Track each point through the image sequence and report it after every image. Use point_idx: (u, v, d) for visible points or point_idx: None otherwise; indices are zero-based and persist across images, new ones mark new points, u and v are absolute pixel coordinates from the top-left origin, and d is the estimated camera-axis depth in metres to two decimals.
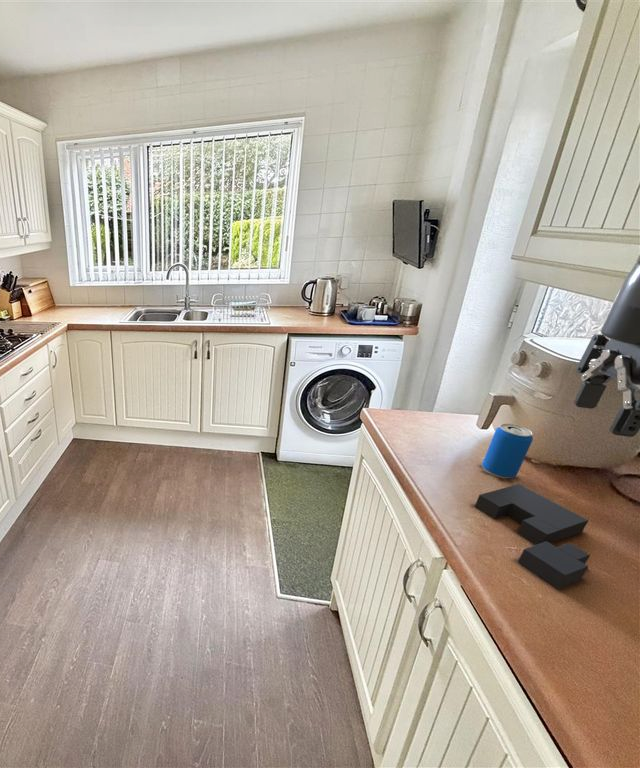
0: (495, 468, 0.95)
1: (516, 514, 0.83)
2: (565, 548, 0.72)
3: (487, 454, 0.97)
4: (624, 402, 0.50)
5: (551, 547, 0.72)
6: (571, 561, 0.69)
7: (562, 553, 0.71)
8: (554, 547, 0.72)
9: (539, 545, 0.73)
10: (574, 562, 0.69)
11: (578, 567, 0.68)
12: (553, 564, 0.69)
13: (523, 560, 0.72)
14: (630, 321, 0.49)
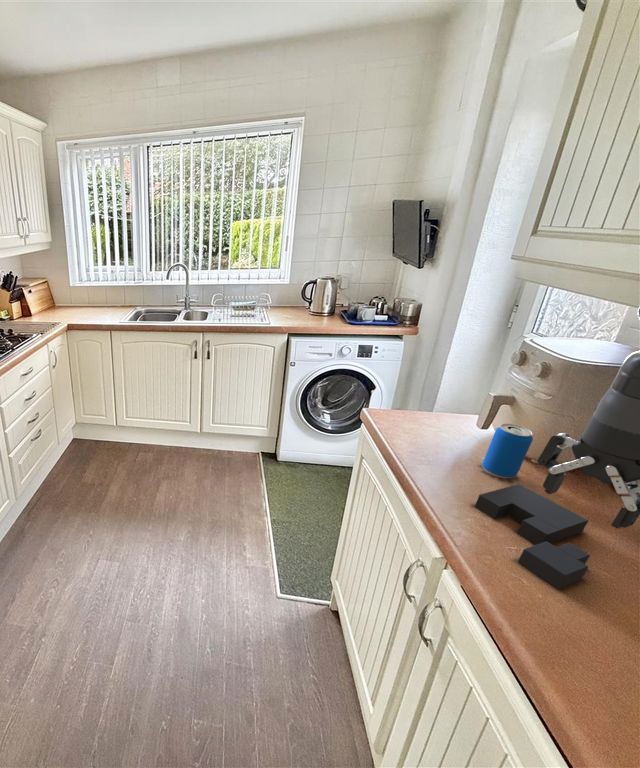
0: (495, 468, 0.95)
1: (516, 514, 0.83)
2: (565, 548, 0.72)
3: (487, 454, 0.97)
4: (627, 505, 0.60)
5: (551, 547, 0.72)
6: (571, 561, 0.69)
7: (562, 553, 0.71)
8: (554, 547, 0.72)
9: (539, 545, 0.73)
10: (574, 562, 0.69)
11: (578, 567, 0.68)
12: (553, 564, 0.69)
13: (523, 560, 0.72)
14: (632, 444, 0.57)
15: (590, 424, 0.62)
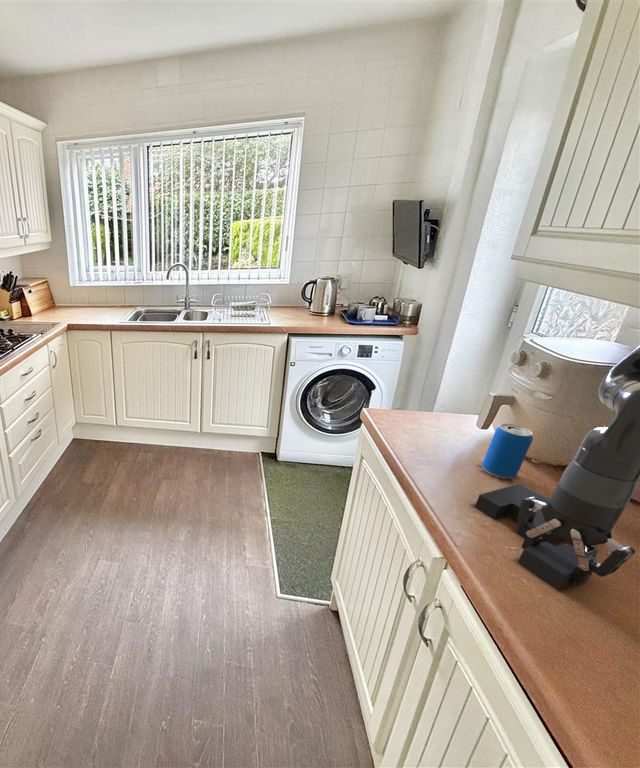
0: (495, 468, 0.95)
1: (516, 514, 0.83)
2: (565, 548, 0.72)
3: (487, 454, 0.97)
4: (581, 565, 0.66)
5: (551, 547, 0.72)
6: (571, 561, 0.69)
7: (562, 553, 0.71)
8: (554, 547, 0.72)
9: (539, 545, 0.73)
10: (574, 562, 0.69)
11: None
12: (553, 564, 0.69)
13: (523, 560, 0.72)
14: (592, 513, 0.63)
15: (556, 490, 0.67)
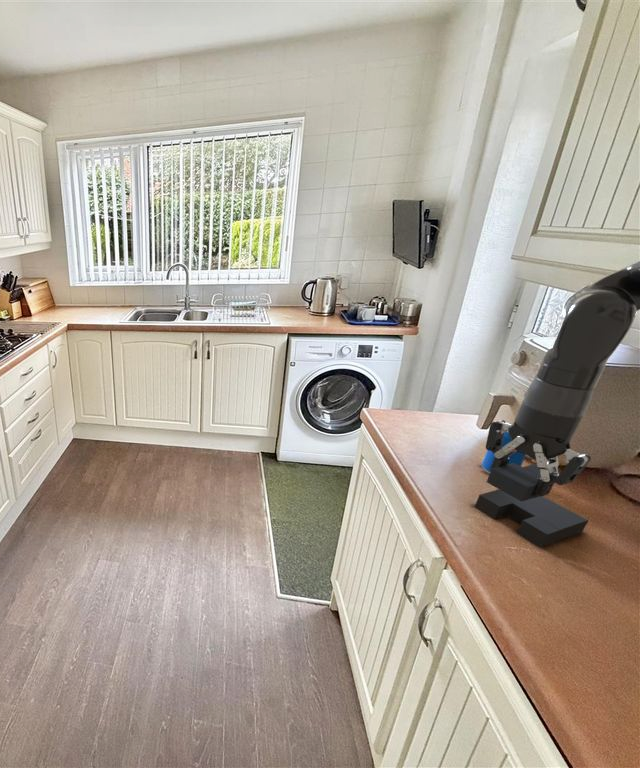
0: None
1: (516, 514, 0.83)
2: (531, 467, 0.77)
3: (487, 454, 0.97)
4: (543, 476, 0.71)
5: (518, 467, 0.77)
6: (535, 477, 0.74)
7: (527, 471, 0.75)
8: (520, 467, 0.77)
9: (506, 466, 0.77)
10: (537, 478, 0.74)
11: None
12: (518, 480, 0.73)
13: (491, 479, 0.77)
14: (551, 424, 0.67)
15: (520, 408, 0.71)
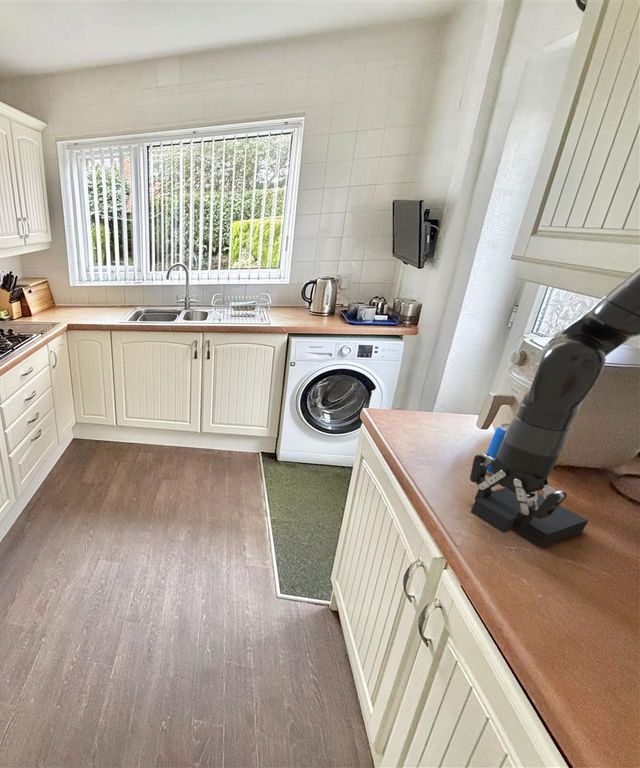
0: None
1: None
2: (513, 499, 0.80)
3: None
4: (522, 510, 0.74)
5: (500, 498, 0.80)
6: (516, 509, 0.78)
7: (509, 503, 0.79)
8: (503, 498, 0.80)
9: (489, 497, 0.81)
10: (518, 510, 0.77)
11: None
12: (500, 512, 0.77)
13: (475, 510, 0.81)
14: (530, 462, 0.71)
15: (501, 444, 0.75)
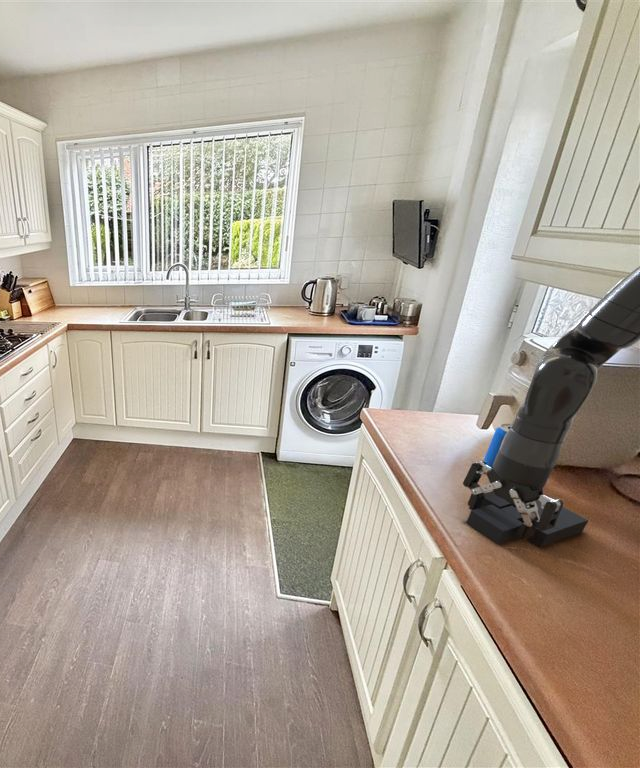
0: None
1: None
2: (507, 510, 0.81)
3: (487, 454, 0.97)
4: (525, 521, 0.74)
5: (495, 509, 0.81)
6: (511, 520, 0.79)
7: (504, 514, 0.80)
8: (498, 509, 0.81)
9: (485, 507, 0.82)
10: (513, 521, 0.78)
11: (516, 525, 0.77)
12: (494, 523, 0.78)
13: (470, 521, 0.82)
14: (525, 473, 0.72)
15: (497, 455, 0.76)
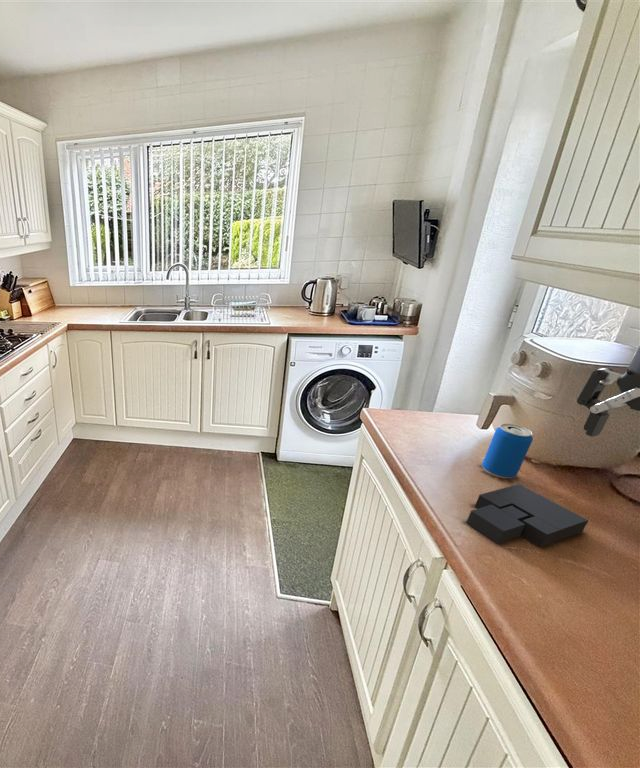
0: (495, 468, 0.95)
1: None
2: (507, 510, 0.81)
3: (487, 454, 0.97)
4: None
5: (495, 509, 0.81)
6: (511, 520, 0.79)
7: (504, 514, 0.80)
8: (498, 509, 0.81)
9: (485, 507, 0.82)
10: (513, 521, 0.78)
11: (516, 525, 0.77)
12: (494, 523, 0.78)
13: (470, 521, 0.82)
14: None
15: (638, 351, 0.56)
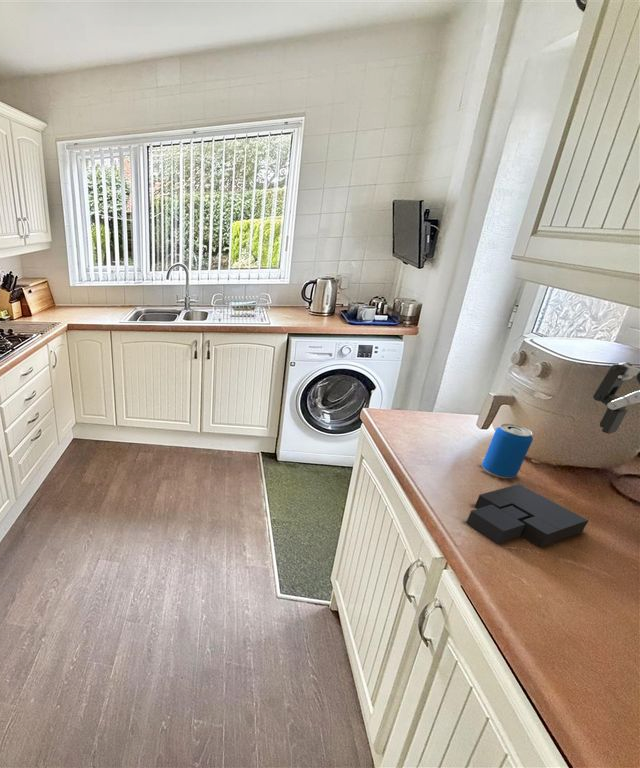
0: (495, 468, 0.95)
1: None
2: (507, 510, 0.81)
3: (487, 454, 0.97)
4: None
5: (495, 509, 0.81)
6: (511, 520, 0.79)
7: (504, 514, 0.80)
8: (498, 509, 0.81)
9: (485, 507, 0.82)
10: (513, 521, 0.78)
11: (516, 525, 0.77)
12: (494, 523, 0.78)
13: (470, 521, 0.82)
14: None
15: None
